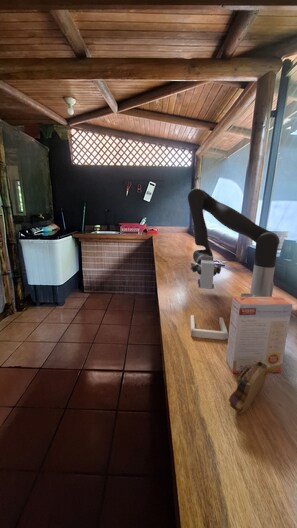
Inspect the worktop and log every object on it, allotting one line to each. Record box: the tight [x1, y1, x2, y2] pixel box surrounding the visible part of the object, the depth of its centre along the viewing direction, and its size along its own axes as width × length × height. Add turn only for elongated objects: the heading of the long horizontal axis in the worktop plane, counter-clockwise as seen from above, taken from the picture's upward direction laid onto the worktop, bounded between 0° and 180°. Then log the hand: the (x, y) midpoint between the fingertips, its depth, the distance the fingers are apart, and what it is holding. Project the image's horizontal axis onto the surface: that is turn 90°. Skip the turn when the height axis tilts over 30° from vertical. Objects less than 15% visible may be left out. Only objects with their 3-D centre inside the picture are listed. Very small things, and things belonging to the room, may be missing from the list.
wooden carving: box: [228, 362, 269, 415], centre depth 55 cm, size 16×5×10 cm, turn 139°
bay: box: [189, 314, 229, 341], centre depth 88 cm, size 12×12×2 cm
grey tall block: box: [197, 255, 216, 290], centre depth 100 cm, size 6×7×12 cm
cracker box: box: [225, 296, 293, 374], centre depth 66 cm, size 14×6×21 cm, turn 92°
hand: (207, 273), depth 98 cm, fingers closed on grey tall block, 5 cm apart
